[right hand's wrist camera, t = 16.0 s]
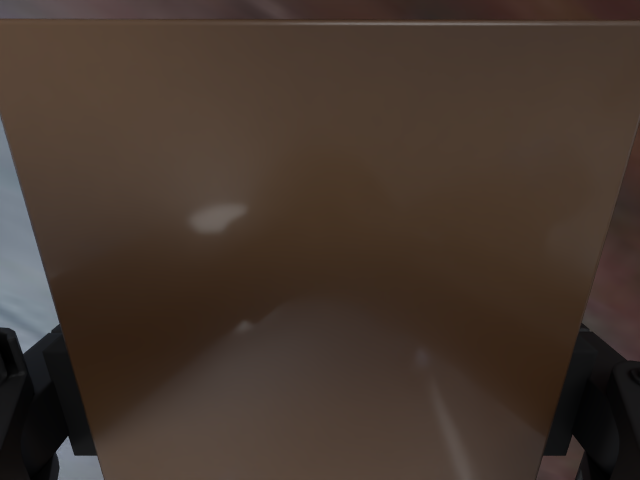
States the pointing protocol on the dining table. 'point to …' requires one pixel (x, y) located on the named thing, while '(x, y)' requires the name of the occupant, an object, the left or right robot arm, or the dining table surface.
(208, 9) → the dining table surface
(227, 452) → the wide beam
